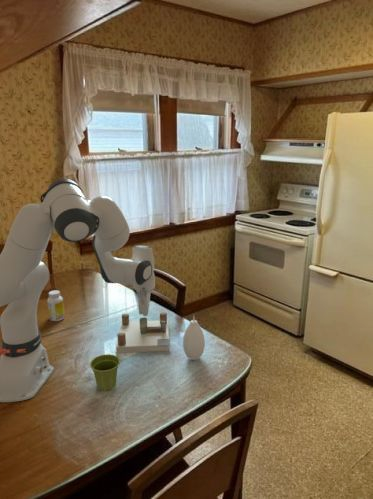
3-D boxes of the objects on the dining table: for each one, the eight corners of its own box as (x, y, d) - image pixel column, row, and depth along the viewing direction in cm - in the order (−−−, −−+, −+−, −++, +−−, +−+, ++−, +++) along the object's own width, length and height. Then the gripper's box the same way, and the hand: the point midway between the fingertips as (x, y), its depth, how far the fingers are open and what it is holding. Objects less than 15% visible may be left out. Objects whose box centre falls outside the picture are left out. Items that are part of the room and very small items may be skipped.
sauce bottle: (186, 366, 131) (186, 321, 125) (180, 354, 138) (180, 311, 133) (207, 362, 133) (207, 318, 127) (200, 351, 140) (201, 308, 135)
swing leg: (166, 332, 148) (165, 320, 146) (139, 333, 147) (139, 321, 145) (165, 329, 150) (165, 316, 149) (140, 329, 150) (139, 317, 148)
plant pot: (108, 372, 127) (107, 350, 125) (127, 383, 122) (125, 361, 119) (86, 386, 120) (84, 363, 118) (104, 398, 115) (102, 374, 112)
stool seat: (170, 351, 140) (169, 336, 138) (116, 353, 139) (115, 338, 137) (169, 325, 160) (168, 311, 158) (121, 326, 158) (121, 313, 156)
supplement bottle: (67, 315, 169) (64, 289, 165) (61, 322, 162) (58, 295, 159) (53, 314, 169) (50, 289, 166) (46, 321, 163) (43, 295, 159)
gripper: (150, 293, 139) (152, 326, 143) (152, 274, 158) (154, 303, 162) (134, 294, 139) (135, 326, 143) (138, 275, 158) (139, 304, 162)
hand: (145, 314), depth 153 cm, fingers closed
